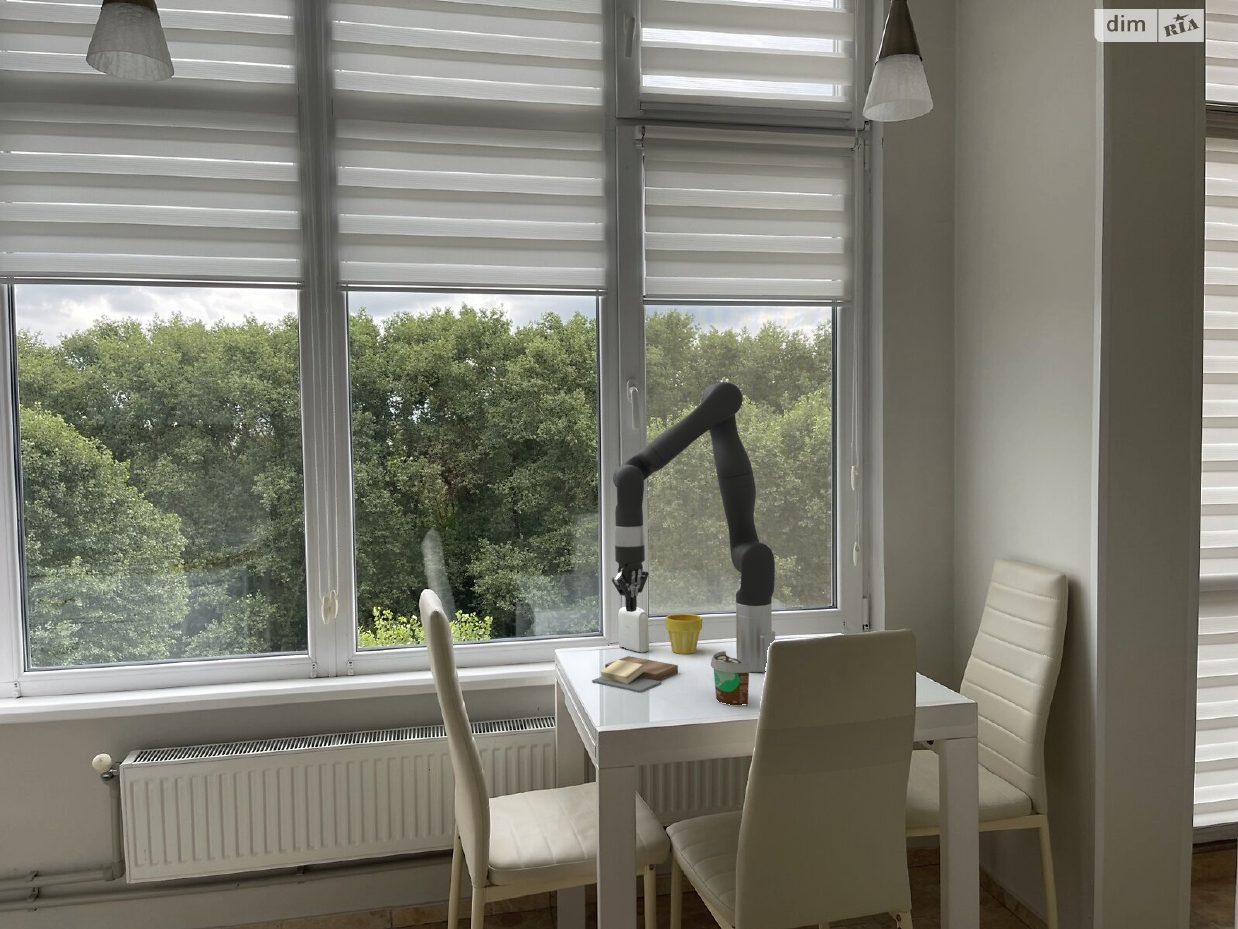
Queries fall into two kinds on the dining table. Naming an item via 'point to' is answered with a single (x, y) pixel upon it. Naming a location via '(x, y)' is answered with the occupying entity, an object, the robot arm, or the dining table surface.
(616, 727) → the dining table surface
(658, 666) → the brown wooden block
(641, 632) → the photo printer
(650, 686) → the mat
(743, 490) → the robot arm
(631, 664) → the cream flat block
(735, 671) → the food container
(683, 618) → the plant pot
